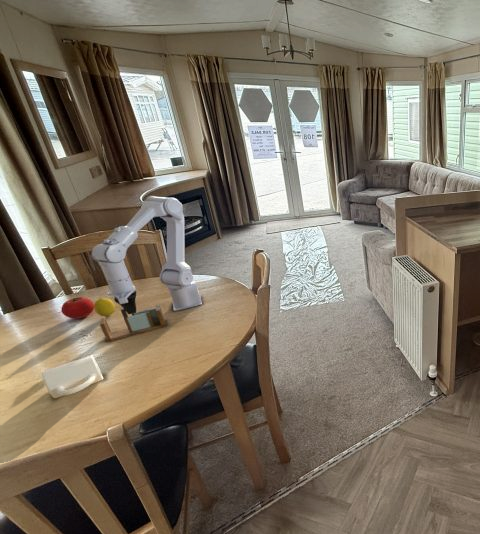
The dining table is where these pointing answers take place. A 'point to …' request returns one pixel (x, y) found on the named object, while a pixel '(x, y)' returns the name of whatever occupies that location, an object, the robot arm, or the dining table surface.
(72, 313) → the tomato
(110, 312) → the lemon
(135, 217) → the robot arm
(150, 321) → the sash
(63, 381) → the white box with handle
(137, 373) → the dining table surface
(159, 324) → the window frame
